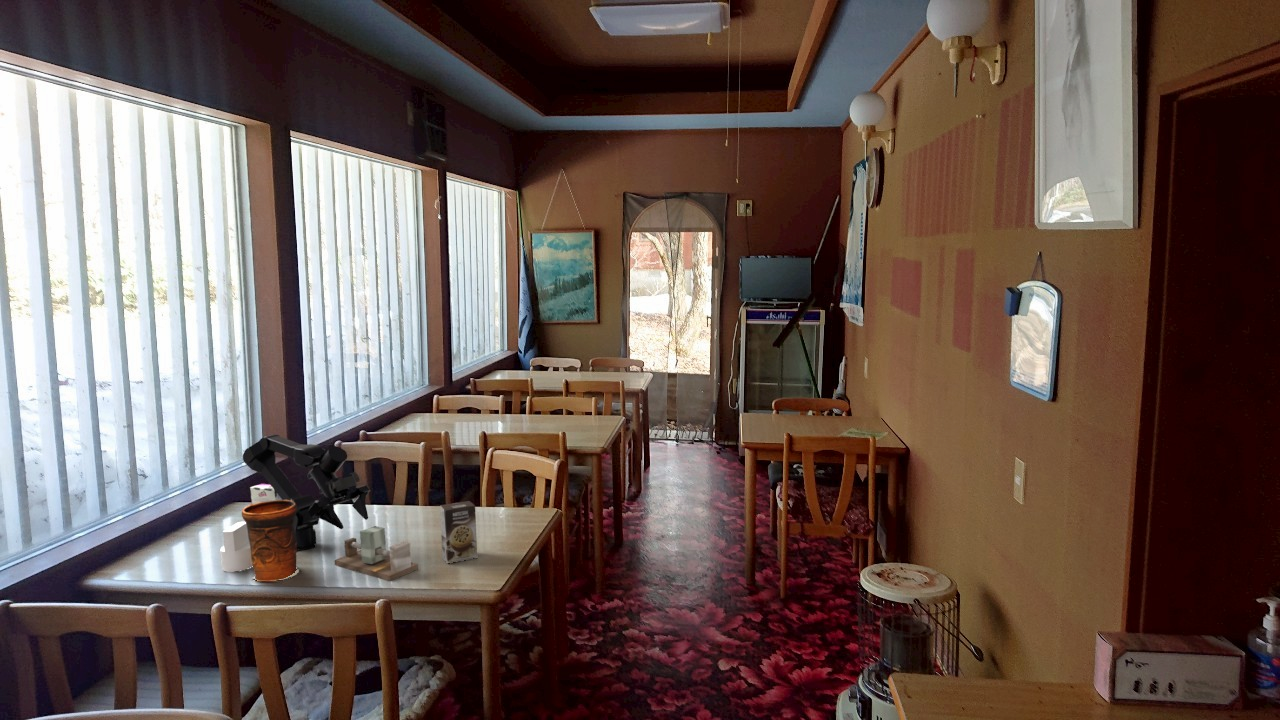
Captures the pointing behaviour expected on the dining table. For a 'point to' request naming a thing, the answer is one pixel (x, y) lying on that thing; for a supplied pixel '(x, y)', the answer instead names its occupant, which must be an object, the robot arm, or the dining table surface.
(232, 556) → the base with upright slab
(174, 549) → the dining table surface
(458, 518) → the coffee box
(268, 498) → the candy bar box
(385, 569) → the rod stand
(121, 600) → the dining table surface
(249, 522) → the vessel
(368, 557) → the sleeve
